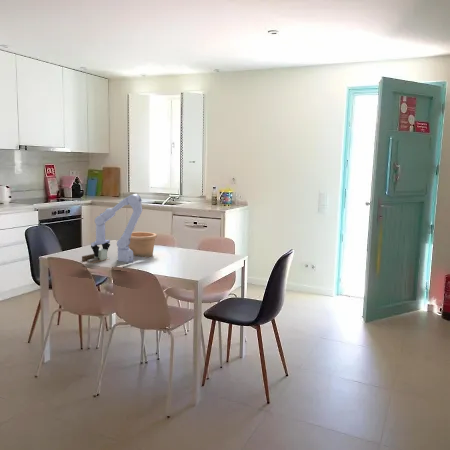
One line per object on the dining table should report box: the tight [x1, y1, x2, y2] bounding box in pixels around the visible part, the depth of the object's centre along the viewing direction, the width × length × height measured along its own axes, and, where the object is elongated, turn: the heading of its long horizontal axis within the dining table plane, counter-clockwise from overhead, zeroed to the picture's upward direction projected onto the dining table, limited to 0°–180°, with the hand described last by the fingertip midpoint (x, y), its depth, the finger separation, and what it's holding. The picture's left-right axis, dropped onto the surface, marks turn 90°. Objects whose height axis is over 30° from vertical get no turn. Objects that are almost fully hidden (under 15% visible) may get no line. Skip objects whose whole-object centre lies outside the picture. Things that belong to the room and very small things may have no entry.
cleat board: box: [81, 253, 110, 264], centre depth 284 cm, size 10×14×4 cm
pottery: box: [128, 231, 158, 258], centre depth 309 cm, size 22×22×14 cm
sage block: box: [94, 248, 108, 261], centre depth 287 cm, size 6×5×6 cm
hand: (100, 255), depth 288 cm, fingers open, 7 cm apart
